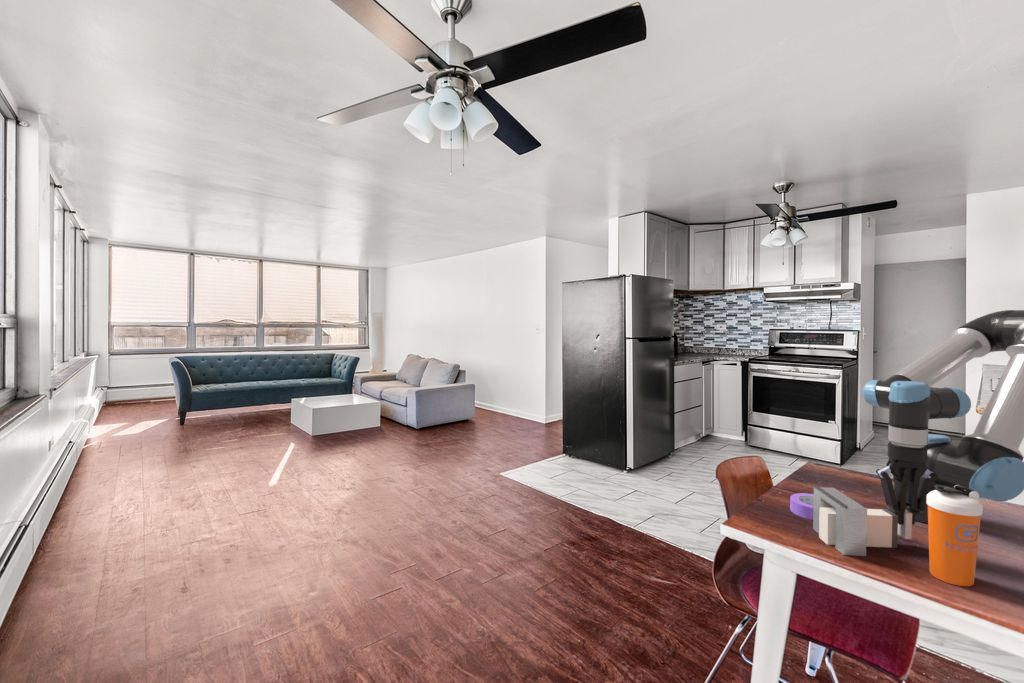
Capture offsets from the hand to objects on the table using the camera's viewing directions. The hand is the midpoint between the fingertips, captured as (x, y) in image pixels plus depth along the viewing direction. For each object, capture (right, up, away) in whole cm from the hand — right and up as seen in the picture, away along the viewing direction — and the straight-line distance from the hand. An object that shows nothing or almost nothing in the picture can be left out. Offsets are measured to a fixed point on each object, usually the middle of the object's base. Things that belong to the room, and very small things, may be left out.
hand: (904, 536), depth 116 cm
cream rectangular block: (-11, -2, +2) cm, 11 cm away
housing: (-15, -2, +2) cm, 15 cm away
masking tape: (-10, -2, +20) cm, 22 cm away
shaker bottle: (-2, -3, -15) cm, 15 cm away
